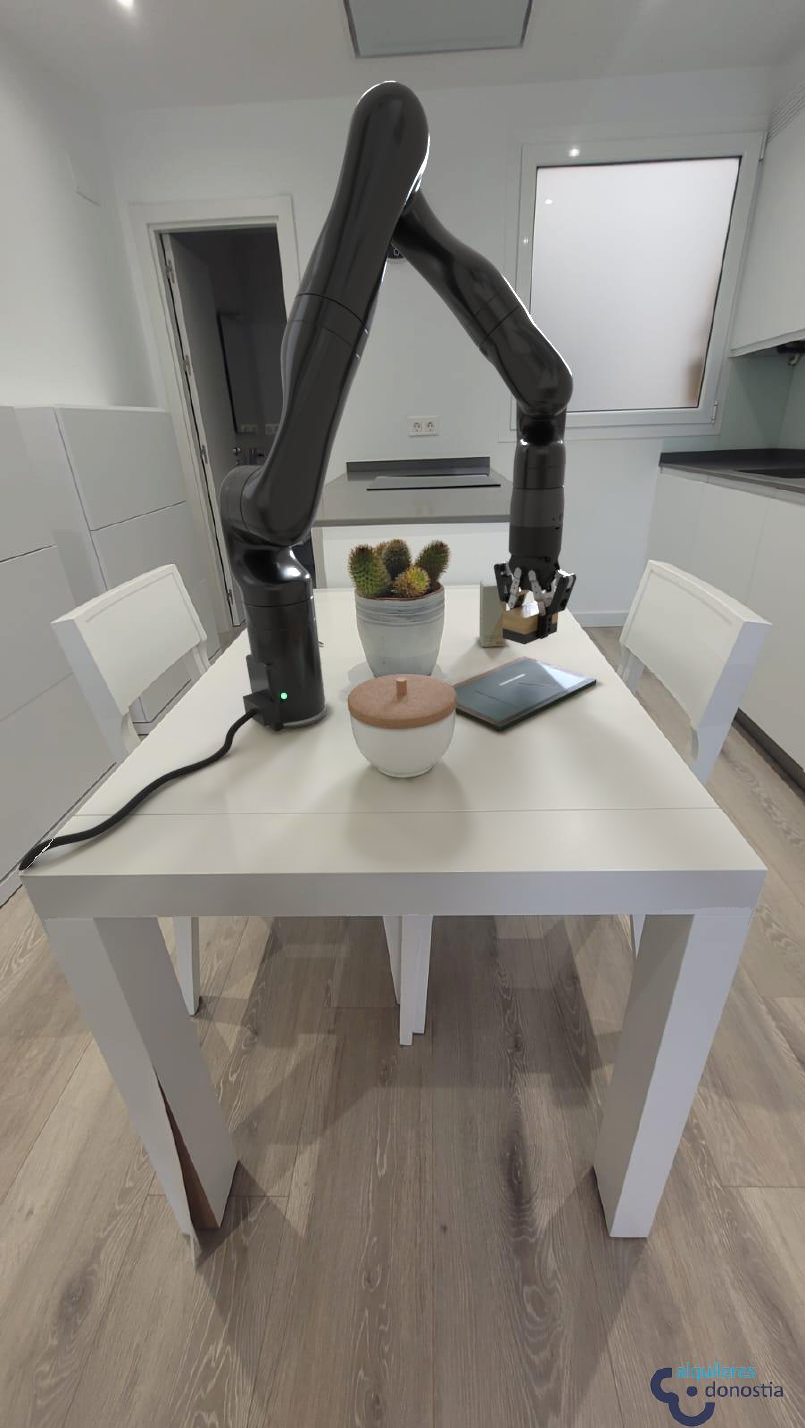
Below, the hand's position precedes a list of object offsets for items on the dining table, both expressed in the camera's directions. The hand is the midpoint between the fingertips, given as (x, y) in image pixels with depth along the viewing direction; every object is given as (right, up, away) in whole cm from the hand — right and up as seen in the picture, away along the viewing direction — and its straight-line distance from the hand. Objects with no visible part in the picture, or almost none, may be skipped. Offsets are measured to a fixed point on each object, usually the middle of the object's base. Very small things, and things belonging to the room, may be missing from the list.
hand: (529, 633), depth 93 cm
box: (-3, 0, +17) cm, 17 cm away
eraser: (0, 0, 0) cm, 0 cm away
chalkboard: (-3, -9, -3) cm, 10 cm away
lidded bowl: (-20, -19, -20) cm, 34 cm away
